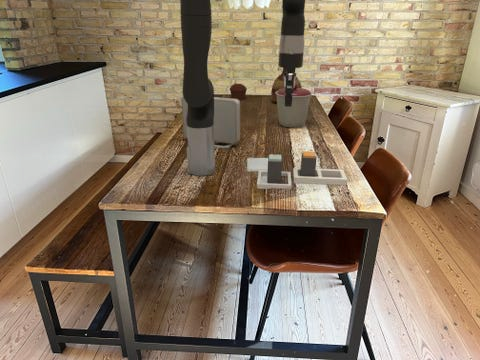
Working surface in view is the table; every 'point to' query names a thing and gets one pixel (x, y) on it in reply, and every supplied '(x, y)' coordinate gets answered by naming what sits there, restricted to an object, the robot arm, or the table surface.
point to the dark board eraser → (274, 169)
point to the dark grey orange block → (308, 164)
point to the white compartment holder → (321, 177)
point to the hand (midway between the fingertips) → (288, 103)
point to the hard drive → (257, 164)
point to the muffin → (238, 91)
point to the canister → (293, 107)
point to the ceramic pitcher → (281, 84)
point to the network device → (221, 120)
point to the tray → (264, 185)
